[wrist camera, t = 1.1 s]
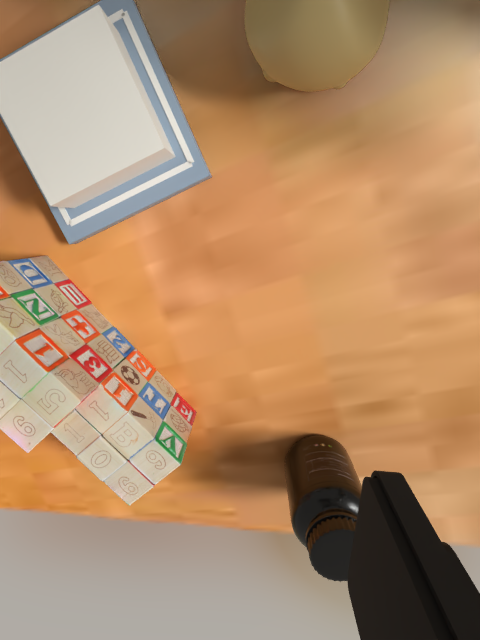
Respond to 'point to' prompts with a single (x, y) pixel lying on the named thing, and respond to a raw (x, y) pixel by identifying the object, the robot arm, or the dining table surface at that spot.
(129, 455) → the stack of blocks
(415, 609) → the robot arm
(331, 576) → the supplement bottle
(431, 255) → the dining table surface
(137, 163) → the board
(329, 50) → the beige rounded lump
